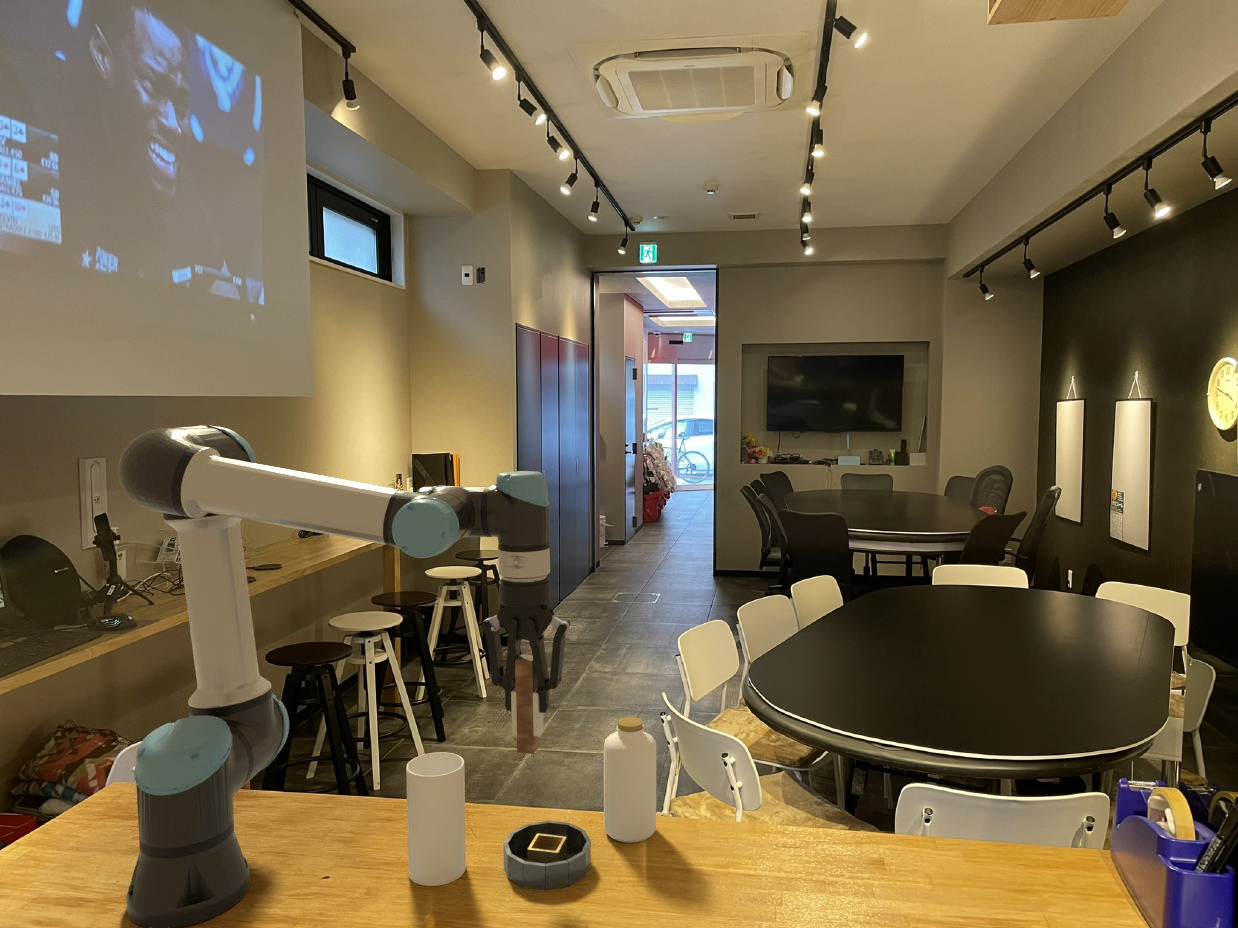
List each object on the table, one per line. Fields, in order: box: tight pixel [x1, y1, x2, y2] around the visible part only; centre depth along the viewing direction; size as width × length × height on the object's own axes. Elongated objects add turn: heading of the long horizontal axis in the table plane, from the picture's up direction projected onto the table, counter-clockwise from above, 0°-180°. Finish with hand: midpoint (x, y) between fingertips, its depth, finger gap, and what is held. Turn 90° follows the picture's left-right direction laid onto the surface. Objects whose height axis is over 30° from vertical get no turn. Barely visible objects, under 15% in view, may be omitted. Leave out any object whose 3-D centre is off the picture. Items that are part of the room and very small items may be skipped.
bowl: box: [503, 820, 592, 891], centre depth 125 cm, size 12×12×4 cm
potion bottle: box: [603, 716, 657, 844], centre depth 134 cm, size 8×8×18 cm
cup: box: [405, 751, 467, 887], centre depth 123 cm, size 8×8×16 cm
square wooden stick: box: [515, 654, 540, 754], centre depth 126 cm, size 3×3×14 cm
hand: (527, 731), depth 126 cm, fingers closed on square wooden stick, 3 cm apart
